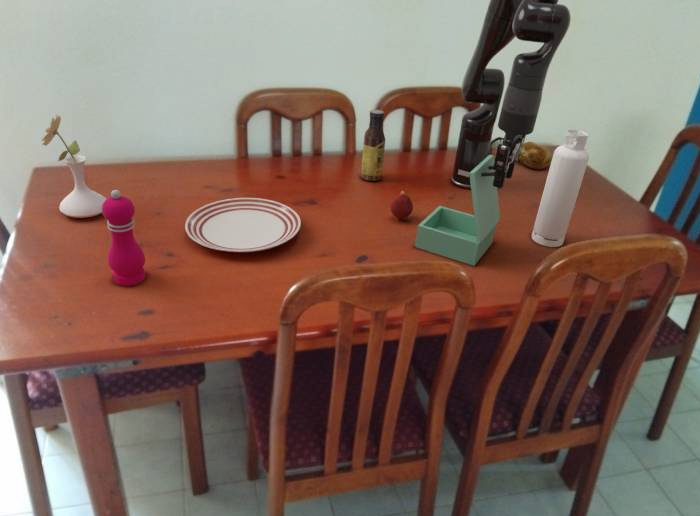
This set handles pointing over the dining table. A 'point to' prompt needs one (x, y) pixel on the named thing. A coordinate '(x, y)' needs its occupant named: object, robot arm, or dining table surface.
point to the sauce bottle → (373, 148)
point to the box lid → (484, 197)
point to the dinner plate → (243, 225)
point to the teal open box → (452, 236)
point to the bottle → (561, 190)
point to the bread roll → (534, 156)
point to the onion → (401, 206)
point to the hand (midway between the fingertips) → (502, 181)
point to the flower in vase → (81, 198)
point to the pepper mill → (123, 241)
